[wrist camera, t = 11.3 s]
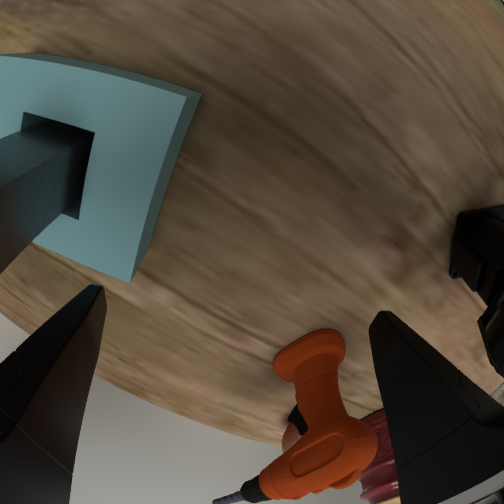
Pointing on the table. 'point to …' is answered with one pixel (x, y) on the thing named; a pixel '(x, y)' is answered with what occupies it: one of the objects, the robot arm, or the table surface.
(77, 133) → the grey t-shaped bar
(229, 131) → the table surface
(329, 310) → the table surface
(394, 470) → the canister
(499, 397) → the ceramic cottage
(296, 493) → the toy drill
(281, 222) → the table surface
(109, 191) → the block
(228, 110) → the table surface
